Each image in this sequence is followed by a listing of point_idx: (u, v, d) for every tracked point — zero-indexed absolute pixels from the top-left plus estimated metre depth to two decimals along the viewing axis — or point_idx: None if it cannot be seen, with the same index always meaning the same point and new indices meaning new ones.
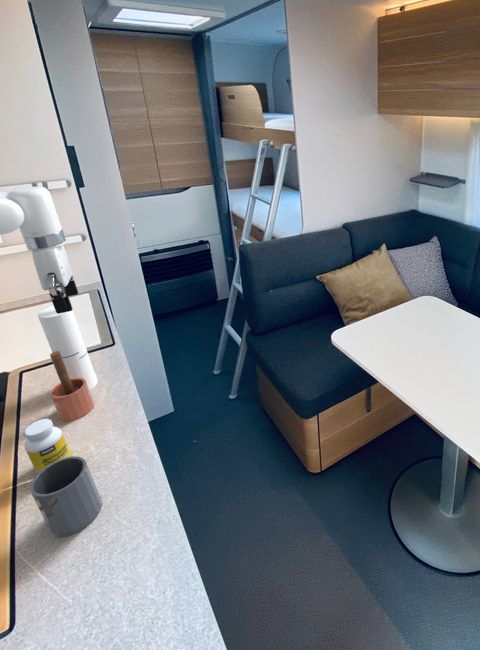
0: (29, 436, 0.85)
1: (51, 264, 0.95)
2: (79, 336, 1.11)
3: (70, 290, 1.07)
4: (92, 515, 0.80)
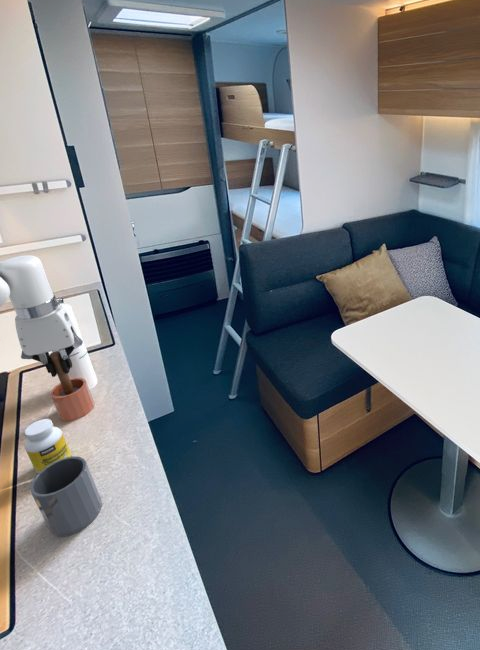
0: (29, 436, 0.85)
1: None
2: (79, 336, 1.11)
3: None
4: (92, 515, 0.80)
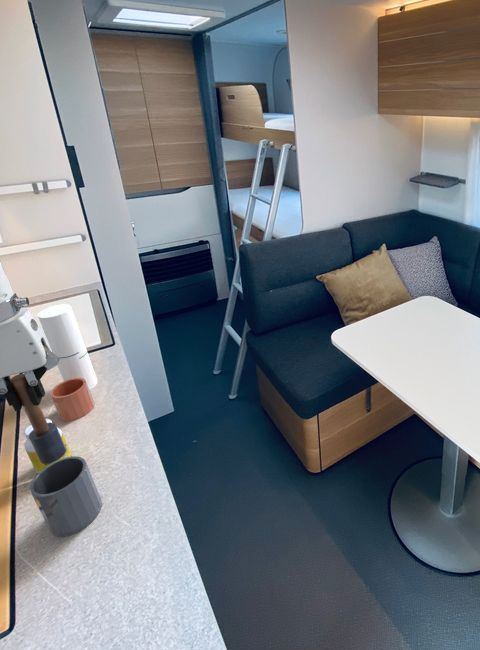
0: None
1: None
2: (79, 336, 1.11)
3: None
4: (92, 515, 0.80)
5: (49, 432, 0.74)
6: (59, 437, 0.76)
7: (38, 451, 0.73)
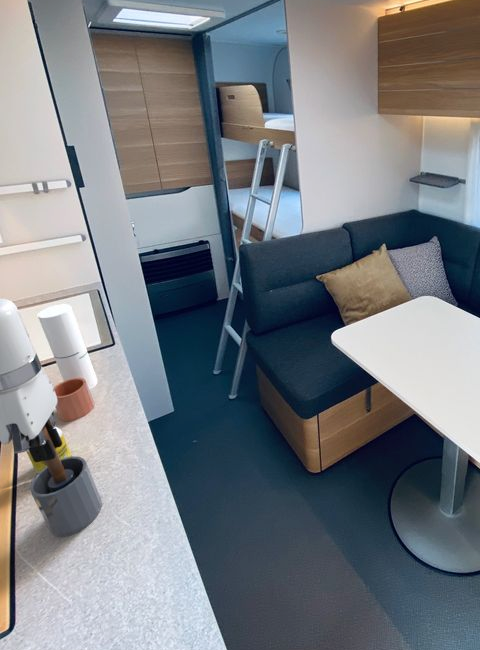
0: None
1: (11, 413, 0.65)
2: (79, 336, 1.11)
3: None
4: (92, 515, 0.80)
5: (70, 470, 0.79)
6: None
7: None
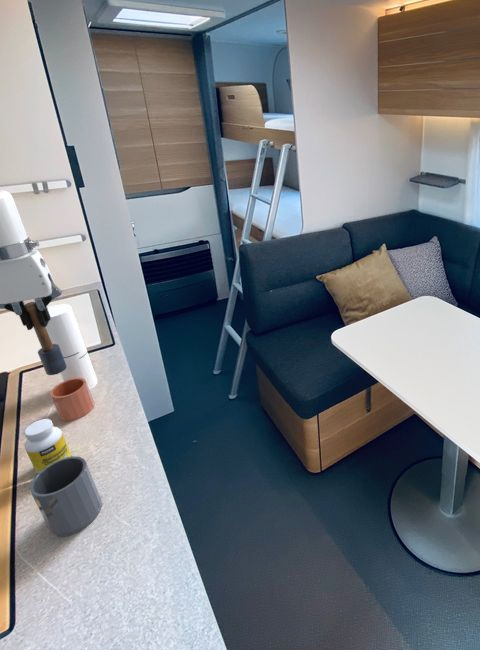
0: (29, 436, 0.85)
1: None
2: (79, 336, 1.11)
3: None
4: (92, 515, 0.80)
5: (54, 350, 0.95)
6: (61, 355, 0.97)
7: (44, 364, 0.94)
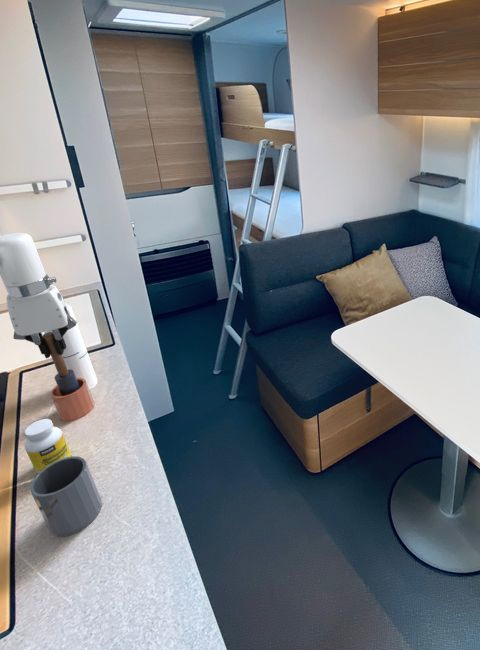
0: (29, 436, 0.85)
1: None
2: (79, 336, 1.11)
3: None
4: (92, 515, 0.80)
5: (69, 375, 1.02)
6: (76, 380, 1.04)
7: (61, 389, 1.02)
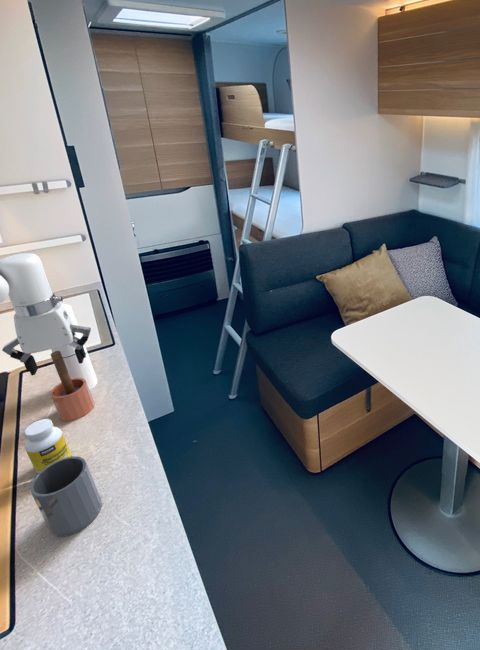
0: (29, 436, 0.85)
1: None
2: (79, 336, 1.11)
3: None
4: (92, 515, 0.80)
5: None
6: None
7: None
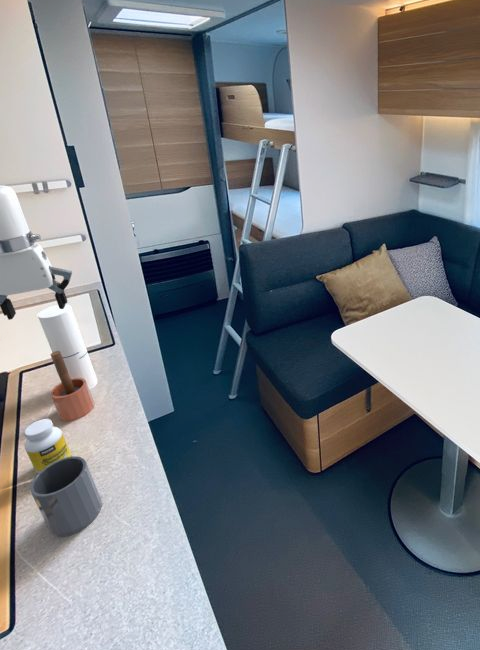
0: (29, 436, 0.85)
1: None
2: (79, 336, 1.11)
3: None
4: (92, 515, 0.80)
5: None
6: None
7: None
